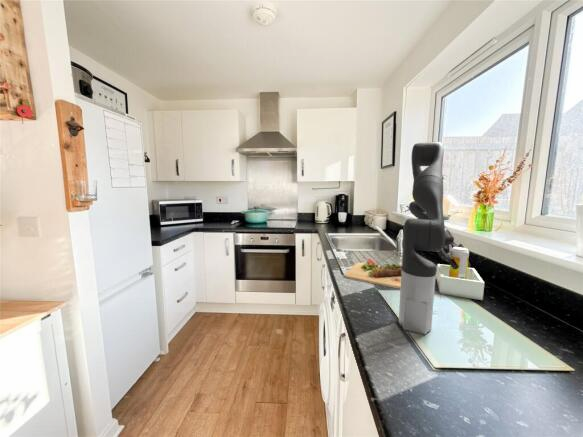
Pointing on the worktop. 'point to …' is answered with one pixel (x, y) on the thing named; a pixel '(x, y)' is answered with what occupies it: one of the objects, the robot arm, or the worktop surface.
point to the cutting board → (376, 274)
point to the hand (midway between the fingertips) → (462, 267)
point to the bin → (460, 283)
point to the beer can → (459, 262)
